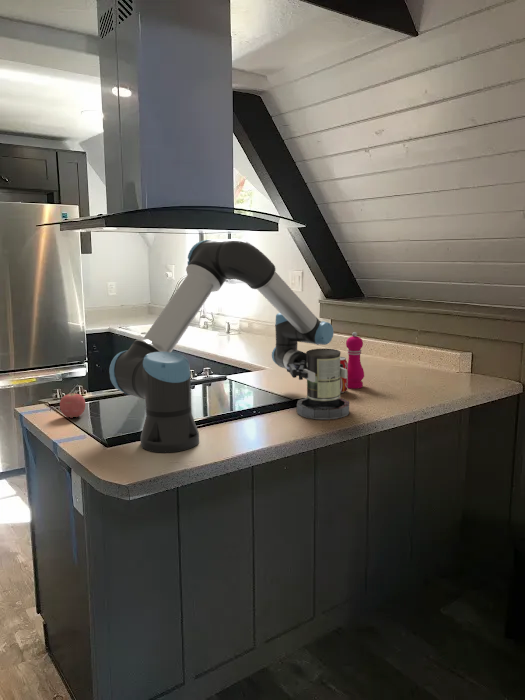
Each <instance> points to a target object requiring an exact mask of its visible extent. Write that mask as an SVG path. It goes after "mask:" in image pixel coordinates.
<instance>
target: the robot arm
mask: <svg viewBox="0 0 525 700" xmlns="http://www.w3.org/2000/svg"><path fill="white" fill-rule="evenodd" d="M187 260H188V261H187V266H186V269H185V271H186V277H185V278H184V280H183V281H182V282H181V283H180V285H179V286H178V288H177V289H176V290H175V292H174V294H173V295H172V296H171V298H170V300H169V301H167V304H166V305H165V307H164V308H163V309H162V311H161V312H160V313H159V315H158V317H157V318H156V319H155V320H154V323H153V324H152V325H151V327H150V328H149V329H148V331H147V332H146V334H144V337H143V338H138V339H135V340H134V341H133V342H132V344H131V345H130V347H129V348H128V350H122V351H120V352H118V353H116V355H115V356H114V357H113V358H112V360H111V362H110V365H109V369H108V371H109V372H108V373H109V379H110V382H111V384H112V385H113V386H114V388H115V389H116V390H118V391H119V392H121V393H123V394H125V395H128V396H132V397H137V398H139V399H143V400H145V419H144V423H143V427H142V430H141V434H140V447H141V448H142V449H143V450H146V451H149V452H154V453H175V452H181V451H185V450H186V451H187V450H189V449H191V448H194V447H196V446H197V445H198V444H199V443H200V433H199V430H198V427H197V425H196V422H195V419H194V416H193V414H192V388H191V387H192V386H191V374H192V373H191V369H190V368H191V367H190V361H189V359H188V358H187V357H186V356H185V355H183V354H181V353H177V352H173V350H174V349H175V347H176V346H177V344H178V343H179V341H180V340H181V338H182V337H183V335H184V334H185V332H186V331H187V329H188V328H189V326H190V325H191V324H192V322H193V320H194V319H195V317H196V315H198V313H199V311H200V310H201V308H202V307H203V305H204V304H205V302H206V301H207V299H208V298H209V297H210V295H211V293H213V292H214V293H215V292H218V291H219V290H220V289H221V288H222V286H223V285H224V283H225V281H226V280H237V281H240V282H242V283H245V284H246V285H247V286H248V287H249V288H250V289H252V290H257V291H258V292H259V293H260V294H261V295H262V296H263V297H264V298H265V300H266V301H268V302H269V303H270V304H271V305H272V306H273V307H274V308H275V309H276V311H278V313H276V315H275V325H274V327H275V347H274V348H273V350H272V352H271V359H272V361H273V362H274V364H275V365H277V366H278V367H280V368H283V369H285V370H286V372H287V373H289V374H290V376H291V377H292V379H293V378H294V379H296V378H297V377H298V380H299V381H302V380H304V379H305V380H306V381H307V380H309V381H311V382H315V373H314V372H312V371H309V370H307V355H306V352H304V351H301V350H299V349H298V342H299V343H300V342H301V343H307V344H314V345H324V346H326V345H328V344H329V343H331V342H332V339H333V337H334V333H335V331H334V327H333V325H332V324H331V323H330V322H328V321H323V320H322V321H321V320H320V319H319V318H318V317H317V316H316V315H315V314H314V313H313V312H312V310H310V308H309V307H308V306H307V305H306V304H305V303H304V301H302V300H301V298H300V297H299V296H298V295H297V294H296V293H295V292H294V291H293V289H292V288H291V287H290V286H289V285H288V284H287V282H285V280H284V279H282V277H281V276H280V274H278V273H277V270H276V269H277V268H276V266H275V264H274V263H273V262H272V261H271V260H270V259H269V258H268V257H267V255H265V254H264V253H263V252H262V251H261V250H260V249H258V247H256V246H254V245H253V244H251V243H249V242H248V241H246V240H243V239H239V238H229V239H228V238H227V239H224V238H223V239H213V238H211V239H204V240H200V241H199V242H196V243H195V244H194V245H192V247H191V249H190V250H189V252H188V255H187ZM340 377H342V378H345V379H346V378H347V369H344V368H343V364H340Z"/></svg>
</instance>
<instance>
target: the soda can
mask: <svg viewBox="0 0 525 700" xmlns="http://www.w3.org/2000/svg"><path fill="white" fill-rule="evenodd" d="M340 364H343V368H344V369H347V378H346V379H345V378H342V377H340V394H344V393H345V392H347V391H348V388H347V386H348V361H347V358H346V357H344V356H340Z"/></svg>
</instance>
